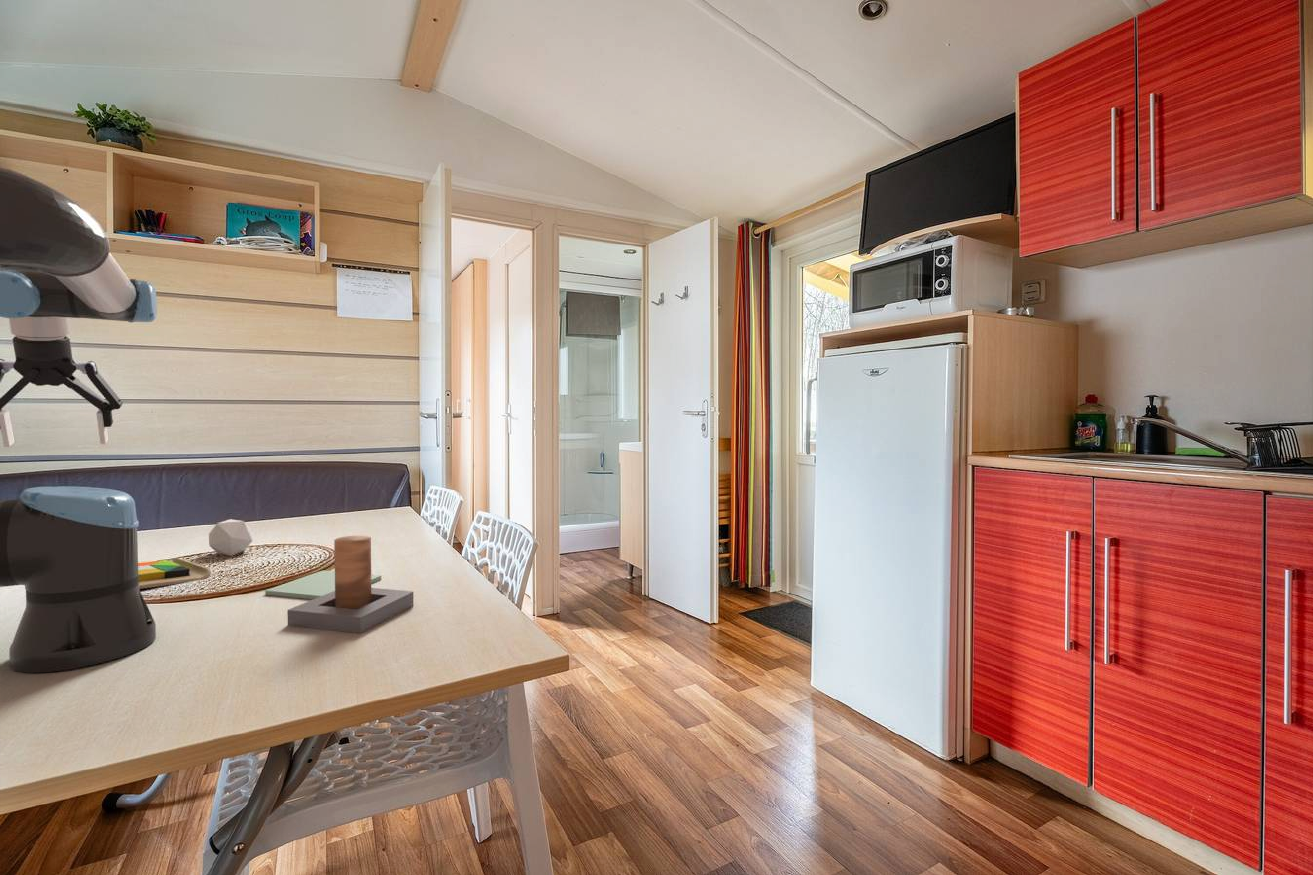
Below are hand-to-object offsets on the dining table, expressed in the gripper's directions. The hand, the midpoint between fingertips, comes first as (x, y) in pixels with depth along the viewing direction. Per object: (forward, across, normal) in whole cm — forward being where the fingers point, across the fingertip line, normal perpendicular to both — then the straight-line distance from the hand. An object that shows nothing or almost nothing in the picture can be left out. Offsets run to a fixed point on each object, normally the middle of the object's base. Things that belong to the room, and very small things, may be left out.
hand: (58, 443), depth 118 cm
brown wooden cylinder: (+12, -46, +57) cm, 74 cm away
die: (+29, -26, 0) cm, 39 cm away
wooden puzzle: (+24, -12, +16) cm, 32 cm away
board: (+18, -44, +38) cm, 60 cm away
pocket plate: (+12, -46, +57) cm, 74 cm away
